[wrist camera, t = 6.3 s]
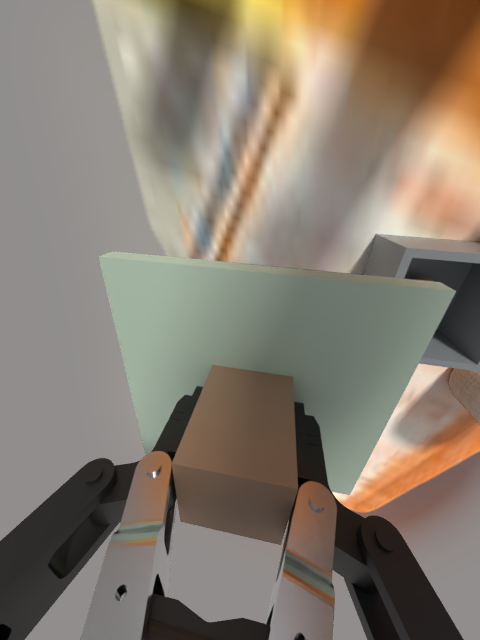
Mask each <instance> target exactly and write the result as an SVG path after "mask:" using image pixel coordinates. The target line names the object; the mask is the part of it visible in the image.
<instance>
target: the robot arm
mask: <svg viewBox="0 0 480 640" xmlns="http://www.w3.org/2000/svg"><path fill="white" fill-rule="evenodd" d="M202 389H203V387H201V386H197V387H196V388H195V391H194V393H193V395H192V396H191V395H184V396H183V397H182V398H181V399H180V400H179V401H178V402H177V404H176V406H175V408H174V409H173V412H172V413H171V415H170V417H169V420H168V421H167V423H166V425H165V427H164V429H163V431H162V433H161V435H160V437H159V439H158V441H157V443H156V445H155V447H154V448H153V450H152V451H151V453H149V454H147V455H145V456H144V457H143V458H142V459H141V460H140V461H138V462H135V463H130V464H123V465H116V466H114V464H113V463H112V462H111V461H110V460H109V459H106V458H100V459H96V460H93V461H91V462H89V463H88V464H86V465H85V466H84V467H83V468H81V469H80V470H79V471H78V472H77V473H76V474H75V475H73V476H72V477H71V478H70V479H69V480H68V481H67V482H66V483H65V484H63V485H62V486H61V487H60V488H59V489H58V490H57V491H56V492H55V493H53V494H52V495H51V496H50V497H49V498H48V499H47V500H46V501H45V502H43V503H42V504H41V505H40V506H39V507H38V508H37V509H36V510H34V511H33V512H32V513H31V514H30V515H29V516H28V517H27V518H26V519H24V520H23V521H22V522H21V523H20V524H19V525H18V526H17V527H16V528H14V529H13V530H12V531H11V532H10V533H9V534H8V535H7V536H6V537H4V538H3V539H2V540H1V541H0V640H24V639H25V638H26V637H27V636H28V635H29V633H30V632H31V631H32V629H33V628H34V627H35V625H37V623H38V622H39V621H40V620H41V618H42V617H43V616H44V615H45V614H46V612H47V611H48V610H49V609H50V607H51V606H52V605H53V604H54V602H55V601H56V600H57V599H58V597H59V596H60V595H61V594H62V593H63V591H64V590H65V589H66V588H67V586H68V585H69V584H70V583H71V581H72V580H73V579H74V578H75V577H76V575H77V574H78V572H80V570H81V569H82V568H83V567H84V565H85V564H86V563H87V562H88V560H89V559H90V558H91V557H92V556H93V554H94V553H95V552H96V551H97V549H98V548H99V547H100V545H101V544H102V543H103V542H104V541H105V539H106V538H107V537H108V536H109V535H110V533H111V532H112V531H113V530H114V528H115V527H116V526H117V525H118V523H119V522H121V523H120V526H119V529H118V530H117V532H115V533H114V534H113V536H112V537H111V540H110V542H109V544H108V547H107V550H106V554H105V557H104V560H103V564H102V567H101V571H100V574H99V578H98V581H97V584H96V587H95V591H94V594H93V598H92V601H91V604H90V608H89V611H88V614H87V618H86V622H85V625H84V628H83V631H82V635H81V638H80V640H332V637H333V620H334V603H335V597H334V596H335V595H334V587H333V585H332V570H334V571H335V572H337V573H338V574H340V575H341V576H343V577H344V579H345V582H346V585H347V587H348V590H349V593H350V595H351V598H352V601H353V603H354V606H355V608H356V611H357V614H358V616H359V619H360V621H361V624H362V626H363V629H364V632H365V634H366V637H367V640H463V638H462V636H461V635H460V633H459V631H458V630H457V628H456V626H455V624H454V623H453V621H452V619H451V618H450V616H449V614H448V613H447V611H446V609H445V608H444V606H443V604H442V603H441V601H440V599H439V598H438V596H437V594H436V593H435V591H434V589H433V587H432V586H431V584H430V582H429V581H428V579H427V577H426V576H425V574H424V572H423V571H422V569H421V567H420V566H419V564H418V562H417V561H416V559H415V557H414V556H413V554H412V552H411V550H410V549H409V547H408V546H407V544H406V542H405V540H404V539H403V537H402V535H401V534H400V533H399V531H398V530H397V529H396V528H395V527H394V526H393V525H392V524H391V523H390V522H389V521H387V520H386V519H384V518H382V517H379V516H369V517H367V518H363V517H362V516H360V515H358V514H356V513H355V512H353V511H351V510H349V509H348V508H346V507H345V506H343V505H342V504H341V503H340V502H339V501H338V500H337V499H336V498H335V497H334V495H333V493H332V492H331V490H330V487H329V484H328V479H327V472H326V466H325V459H324V452H323V448H322V439H321V433H320V426H319V424H318V423H317V421H316V419H315V417H314V416H310V415H305V410H304V403H300V402H294V412H295V433H296V454H297V475H298V491H297V494H296V498H295V501H294V504H293V507H292V510H291V513H290V517H289V523H288V526H287V531H286V535H285V539H284V544H283V549H282V553H281V558H280V562H279V566H278V571H277V576H276V580H275V584H274V589H273V593H272V596H271V600H270V604H269V608H268V613H267V617H266V622H265V624H263V623H260V622H256V621H252V620H249V619H245V618H239V619H232V620H225V621H218V622H211V623H210V622H206V621H204V620H203V619H202V618H200V617H199V616H198V615H197V614H195V613H194V612H193V611H191V610H190V609H189V608H188V607H186V606H185V605H184V604H182V603H181V602H180V601H179V600H176V599H172V598H168V593H169V583H170V558H171V548H172V540H173V531H174V522H175V514H176V505H177V495H176V489H175V482H174V476H173V469H172V461H173V459H174V457H175V454H176V452H177V449H178V447H179V445H180V442H181V440H182V437H183V435H184V432H185V430H186V428H187V425H188V423H189V420H190V418H191V416H192V413H193V411H194V408H195V406H196V404H197V401H198V399H199V396H200V394H201V392H202ZM120 598H122V600H121V601H120Z"/></svg>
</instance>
